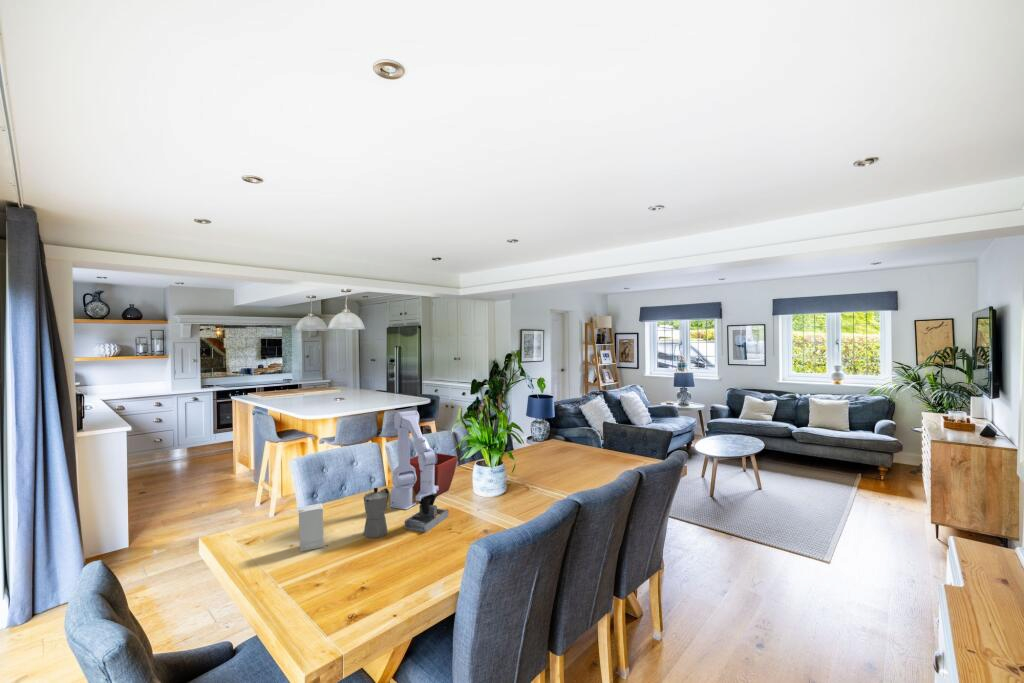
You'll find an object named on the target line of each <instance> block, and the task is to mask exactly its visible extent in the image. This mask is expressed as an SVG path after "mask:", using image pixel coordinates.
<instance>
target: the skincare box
mask: <svg viewBox="0 0 1024 683" xmlns="http://www.w3.org/2000/svg"><path fill="white" fill-rule="evenodd" d="M298 530H299V532H298V533H299V534H298V535H299V551H300V552H307V551H309V550H314V549H321V548H324V546H325V543H324V507H323V504H322V503H315V504H309V505H304V506H299V507H298Z"/></svg>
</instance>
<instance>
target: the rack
mask: <svg viewBox="0 0 1024 683" xmlns="http://www.w3.org/2000/svg"><path fill="white" fill-rule="evenodd" d="M449 511H450V510H449V509H448V508H446V509H441V508H437V515H435V516H434V518H431V517H425V516H419V511H418V512H416V513H415V514H414V515H413V514H412V515H411V517H408V518H407V519H405V520H404V529H405V530H410V531H414V532H418V533H424V534H425V533H428V532H429V531H430V530H431V529H433V528H435V527H436V526H437V525H439V524H440V523H442V522H443V521H444V520H446V519H447V518H449V516H450V515H449Z"/></svg>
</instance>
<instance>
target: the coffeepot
mask: <svg viewBox="0 0 1024 683" xmlns="http://www.w3.org/2000/svg"><path fill="white" fill-rule="evenodd" d="M378 489H379V488H378V487H374V488H373V491H372V492H369V493H365V494H364V496H363V504H364V510H365V515H366V518H365V525H364V530H363V536H365V537H366V538H369V539H376V538H377V539H378V538H380V537H384V536H385V535H387V533H388V526H387V520H386V519H387V518H386V515H385V512H386V509H387V506H388V500H389V494H390V490H389V489H388V488H387V487H385V488H383V489H381V490H379V491H378Z"/></svg>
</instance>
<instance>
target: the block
mask: <svg viewBox="0 0 1024 683" xmlns="http://www.w3.org/2000/svg"><path fill="white" fill-rule="evenodd" d="M437 509H438V505H435V504H433V505H430V504H429V511H428V514H423V512H422V508H421V505H420V504H419V511H418V512H419V516H425V517H431V518H434V516H435V515H437Z"/></svg>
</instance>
